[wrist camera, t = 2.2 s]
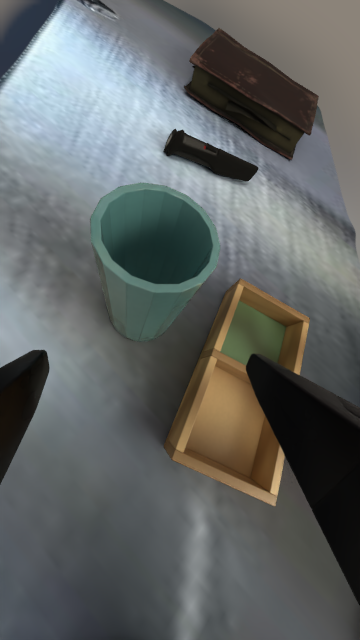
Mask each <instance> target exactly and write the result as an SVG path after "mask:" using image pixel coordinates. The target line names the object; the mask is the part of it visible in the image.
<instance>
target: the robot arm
mask: <svg viewBox="0 0 360 640" xmlns="http://www.w3.org/2000/svg"><path fill="white" fill-rule="evenodd" d="M246 372H247V375H248V377H249V380H250V383H251V385H252V388H253V390H254V393H255V396H256V398H257V400H258V402H259V404H260V406H261V408H262V410H263V412H264V414H265V416H266V418H267V420H268V423H269V425H270V427H271V429H272V431H273V433H274V435H275V437H276V439H277V441H278V443H279V445H280V447H281V449H282V451H283V453H284V455H285V457H286V459H287V461H288V463H289V465H290V467H291V469H292V471H293V473H294V475H295V477H296V479H297V481H298V483H299V485H300V487H301V489H302V491H303V493H304V495H305V497H306V499H307V501H308V503H309V505H310V507H311V509H312V511H313V513H314V515H315V517H316V519H317V521H318V523H319V525H320V527H321V529H322V531H323V533H324V535H325V537H326V539H327V541H328V543H329V545H330V548H331V550H332V552H333V554H334V556H335V558H336V560H337V562H338V564H339V566H340V568H341V570H342V572H343V574H344V576H345V578H346V580H347V582H348V584H349V586H350V588H351V590H352V592H353V594H354V596H355V598H356V600H357V601H358V603H359V605H360V408H359V407H358V406H356V405H354V404H352V403H350V402H348V401H346V400H344V399H343V398H341V397H339V396H336V395H335V394H333V393H331V392H330V391H328V390H326V389H324V388H322V387H320V386H319V385H317V384H315V383H313V382H311V381H309V380H308V379H306V378H304V377H302V376H300V375H298V374H296V373H295V372H293V371H291V370H289V369H287V368H285V367H284V366H282V365H280V364H278V363H276V362H274V361H273V360H271V359H269V358H267V357H265V356H263V355H262V354H258V353H253V354H251V355H250V357H249V360H248V362H247V365H246ZM48 373H49V362H48V356H47V352H46V351H45V350H32V351H30V352H29V353H27V354H25V355H23V356H21V357H19V358H18V359H16V360H14V361H12V362H10V363H8V364H6V365H5V366H3V367H1V368H0V484H1V482H2V480H3V478H4V476H5V474H6V472H7V470H8V467H9V465H10V463H11V461H12V459H13V457H14V455H15V453H16V451H17V449H18V447H19V444H20V442H21V440H22V438H23V436H24V434H25V432H26V430H27V428H28V426H29V424H30V421H31V419H32V417H33V415H34V413H35V411H36V408H37V405H38V403H39V400H40V397H41V394H42V391H43V388H44V385H45V382H46V379H47V376H48Z"/></svg>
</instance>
